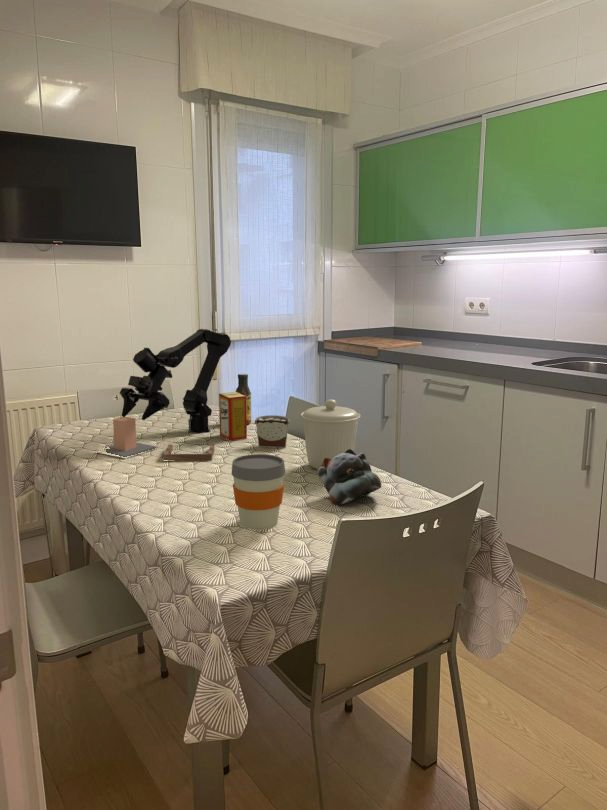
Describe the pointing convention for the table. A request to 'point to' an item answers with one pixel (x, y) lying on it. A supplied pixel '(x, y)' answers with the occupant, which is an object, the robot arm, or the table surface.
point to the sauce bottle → (245, 393)
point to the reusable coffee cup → (258, 489)
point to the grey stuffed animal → (348, 477)
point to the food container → (272, 431)
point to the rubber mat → (130, 452)
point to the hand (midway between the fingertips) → (132, 417)
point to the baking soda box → (233, 416)
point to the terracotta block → (124, 433)
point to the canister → (328, 431)
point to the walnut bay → (188, 455)
